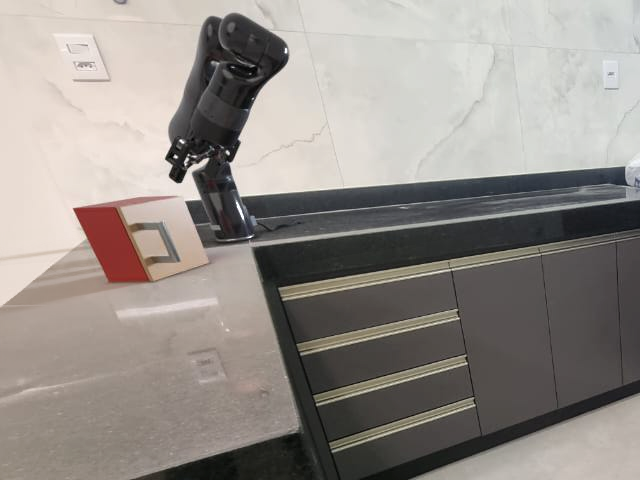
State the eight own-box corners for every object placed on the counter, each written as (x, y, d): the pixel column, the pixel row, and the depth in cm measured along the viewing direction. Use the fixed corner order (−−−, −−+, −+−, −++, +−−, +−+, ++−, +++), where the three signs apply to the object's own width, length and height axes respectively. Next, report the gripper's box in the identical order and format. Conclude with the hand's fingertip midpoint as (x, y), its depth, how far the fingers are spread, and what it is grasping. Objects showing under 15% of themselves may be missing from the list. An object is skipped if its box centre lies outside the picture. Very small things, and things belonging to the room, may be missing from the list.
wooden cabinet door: (230, 262, 133) (205, 195, 126) (177, 280, 119) (144, 206, 112) (206, 262, 133) (179, 196, 126) (149, 281, 119) (115, 207, 112)
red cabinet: (205, 263, 133) (177, 195, 126) (148, 281, 119) (114, 206, 112) (169, 264, 134) (139, 196, 127) (109, 282, 120) (72, 208, 113)
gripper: (210, 130, 99) (179, 195, 105) (264, 128, 112) (235, 186, 118) (172, 100, 97) (143, 168, 103) (232, 101, 110) (203, 161, 116)
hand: (192, 177), depth 111 cm, fingers open, 8 cm apart
